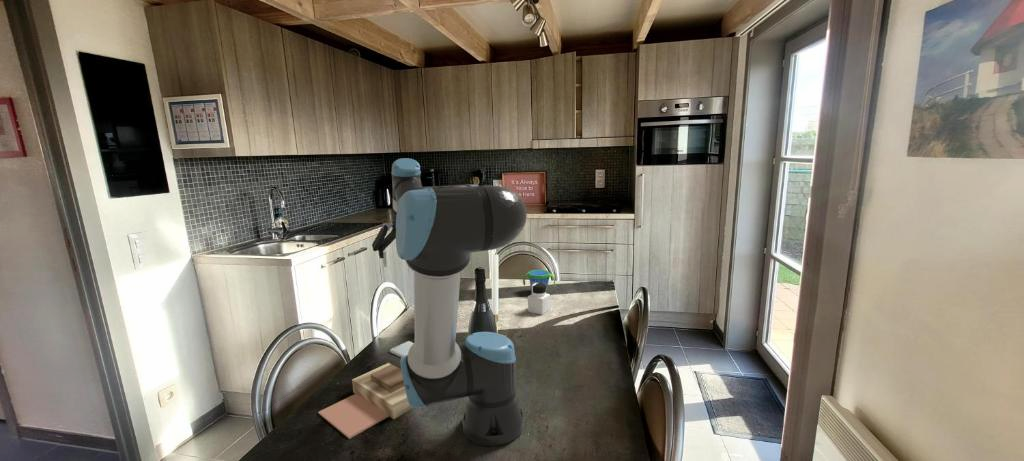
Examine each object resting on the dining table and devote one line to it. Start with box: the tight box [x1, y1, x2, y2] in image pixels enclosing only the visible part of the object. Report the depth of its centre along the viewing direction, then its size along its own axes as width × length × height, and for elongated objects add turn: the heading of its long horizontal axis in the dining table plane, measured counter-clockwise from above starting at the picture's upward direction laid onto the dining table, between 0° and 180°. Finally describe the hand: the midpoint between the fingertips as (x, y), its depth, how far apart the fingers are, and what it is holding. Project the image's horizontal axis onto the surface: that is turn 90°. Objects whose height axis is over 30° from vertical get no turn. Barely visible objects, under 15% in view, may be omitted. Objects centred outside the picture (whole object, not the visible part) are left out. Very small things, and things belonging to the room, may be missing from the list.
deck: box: [351, 362, 413, 420], centre depth 115 cm, size 20×12×4 cm, turn 50°
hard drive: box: [389, 340, 415, 359], centre depth 141 cm, size 2×8×12 cm
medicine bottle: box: [527, 283, 551, 316], centre depth 174 cm, size 7×7×12 cm
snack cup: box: [522, 269, 556, 294], centre depth 198 cm, size 16×10×10 cm
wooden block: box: [370, 364, 404, 393], centre depth 115 cm, size 10×7×2 cm
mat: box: [317, 393, 390, 440], centre depth 107 cm, size 16×11×1 cm
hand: (406, 260), depth 133 cm, fingers open, 13 cm apart
